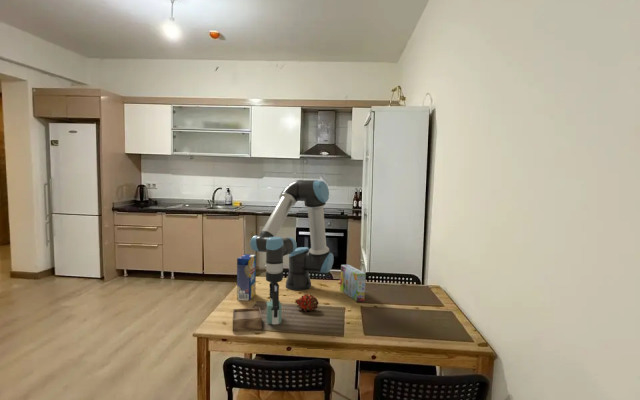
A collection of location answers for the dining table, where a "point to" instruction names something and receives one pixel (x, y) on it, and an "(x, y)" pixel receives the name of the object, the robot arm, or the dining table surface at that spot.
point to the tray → (247, 319)
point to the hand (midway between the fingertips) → (273, 317)
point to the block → (269, 312)
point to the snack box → (353, 282)
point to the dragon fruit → (307, 302)
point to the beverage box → (246, 277)
